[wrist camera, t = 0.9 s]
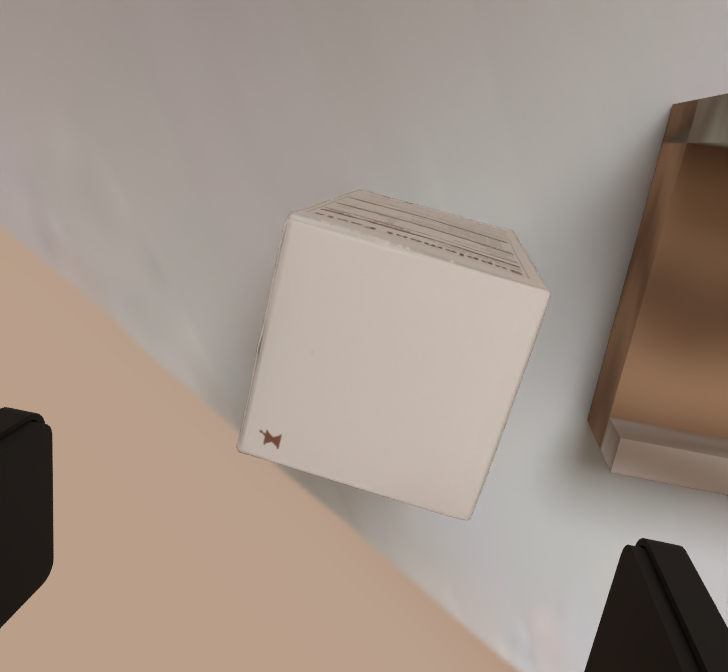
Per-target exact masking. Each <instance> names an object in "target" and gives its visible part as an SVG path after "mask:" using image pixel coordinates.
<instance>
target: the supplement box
mask: <svg viewBox="0 0 728 672" xmlns="http://www.w3.org/2000/svg"><path fill="white" fill-rule="evenodd" d="M550 295H551V292H550V291H549V290H548V288H547V286H546V285H545V283H544V281H543V279H542V278H541V276H540V275H539V273H538V271H537V270H536V268H535V266H534V265H533V263H532V261H531V260H530V258H529V256H528V255H527V253H526V251H525V250H524V248H523V246H522V245H521V243H520V242H519V240H518V238H517V237H516V235H515V233H514V232H513V231H511V230H507V229H502V228H499V227H495V226H491V225H488V224H484V223H480V222H477V221H473V220H469V219H466V218H462V217H459V216H455V215H451V214H448V213H444V212H441V211H437V210H433V209H430V208H426V207H422V206H419V205H415V204H411V203H408V202H404V201H400V200H396V199H393V198H389V197H385V196H382V195H378V194H374V193H370V192H366V191H362V190H358V191H355V192H352V193H348V194H346V195H343V196H340V197H337V198H334V199H332V200H329V201H326V202H324V203H321V204H319V205H316V206H313V207H310V208H307V209H305V210H301V211H296V212H291V213H290V214H289V215H288V216H287V218H286V220H285V223H284V227H283V233H282V237H281V242H280V246H279V250H278V256H277V261H276V266H275V271H274V276H273V280H272V285H271V290H270V294H269V299H268V304H267V308H266V313H265V318H264V323H263V327H262V331H261V334H260V338H259V342H258V346H257V350H256V360H255V366H254V370H253V375H252V380H251V384H250V389H249V394H248V398H247V403H246V407H245V412H244V416H243V421H242V426H241V430H240V435H239V439H238V443H237V450H238V451H239V452H240V453H244V454H247V455H251V456H254V457H258V458H261V459H265V460H268V461H271V462H275V463H278V464H281V465H284V466H287V467H291V468H294V469H297V470H300V471H304V472H307V473H310V474H313V475H317V476H320V477H323V478H326V479H329V480H333V481H336V482H339V483H342V484H346V485H349V486H352V487H356V488H359V489H362V490H365V491H368V492H372V493H375V494H378V495H381V496H385V497H388V498H391V499H394V500H398V501H401V502H404V503H408V504H411V505H414V506H417V507H420V508H424V509H427V510H430V511H433V512H437V513H440V514H443V515H447V516H450V517H454V518H458V519H462V520H469V519H470V518H471V515H472V513H473V511H474V508H475V506H476V503H477V501H478V498H479V496H480V493H481V491H482V488H483V485H484V482H485V480H486V477H487V475H488V472H489V469H490V466H491V463H492V461H493V458H494V455H495V452H496V450H497V447H498V444H499V441H500V439H501V436H502V433H503V430H504V428H505V425H506V422H507V419H508V416H509V414H510V411H511V408H512V405H513V402H514V399H515V397H516V394H517V391H518V388H519V385H520V382H521V380H522V377H523V374H524V371H525V368H526V366H527V363H528V360H529V357H530V354H531V352H532V349H533V346H534V343H535V340H536V337H537V335H538V332H539V329H540V326H541V323H542V320H543V317H544V314H545V311H546V308H547V305H548V302H549V299H550Z"/></svg>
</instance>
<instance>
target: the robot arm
mask: <svg viewBox="0 0 728 672" xmlns="http://www.w3.org/2000/svg"><path fill="white" fill-rule="evenodd" d="M52 463H53V462H52V431H51V428H50V426H48V425H47V424H45V421H44V419H43V417H42V416H41V415H40V414H37V413H32V412H28V411H23V410H18V409H13V408H7V407H4V408H1V409H0V628H1V627H2V626H3V625H4V624H5V623H6V622H7V621H8V620H9V619H10V618H11V617H12V615H13V614H14V613H15V612H16V611H17V610H18V609H19V608H20V607H21V606H22V605H23V604H24V603H25V602H26V601H27V600H28V599H29V598H30V597H31V596H32V595H33V594H34V593H35V592H36V590H38V589H39V588H40V586H41V585H42V584H43V583H44V582H45V581H46V579H47V577H48V576H49V574H50V571H51V569H52V565H53V467H52V466H53V464H52ZM584 672H728V627H727V626H726V624H725V622H724V620H723V618H722V616H721V615H720V613H719V611H718V609H717V607H716V605H715V604H714V602H713V600H712V598H711V596H710V594H709V593H708V591H707V589H706V587H705V585H704V583H703V582H702V580H701V578H700V576H699V574H698V572H697V571H696V569H695V567H694V565H693V563H692V561H691V560H690V558H689V556H688V554H687V552H686V551H685V549H684V548H683V547H682V546H679V545H674V544H669V543H664V542H660V541H655V540H650V539H645V538H642V539H640V540H639V541H638V542H637V543H636V546H631V545H626V546H625V547H624V549H623V551H622V553H621V556H620V559H619V563H618V566H617V569H616V572H615V575H614V579H613V582H612V585H611V588H610V591H609V595H608V598H607V601H606V604H605V607H604V611H603V614H602V617H601V620H600V623H599V627H598V630H597V633H596V636H595V639H594V643H593V646H592V649H591V652H590V655H589V659H588V662H587V665H586V668H585V671H584Z"/></svg>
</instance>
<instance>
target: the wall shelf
mask: <svg viewBox="0 0 728 672" xmlns="http://www.w3.org/2000/svg"><path fill="white" fill-rule="evenodd" d="M588 423H589V425H590V427H591V429H592V432H593V434H594V436H595V438H596V441H597V443H598V445H599V447H600V450H601V452H602V454H603V456H604V459H605V461H606V463H607V465H608V468H609V470H610V472H612V473H617V474H622V475H627V476H632V477H637V478H643V479H648V480H653V481H658V482H663V483H668V484H673V485H679V486H684V487H689V488H694V489H699V490H704V491H709V492H714V493H720V494H725V495H728V94H723V95H718V96H713V97H708V98H703V99H698V100H693V101H688V102H683V103H678V104H673V107H672V110H671V114H670V118H669V122H668V125H667V129H666V133H665V136H664V140H663V144H662V147H661V151H660V155H659V158H658V162H657V166H656V169H655V173H654V177H653V180H652V184H651V188H650V192H649V195H648V199H647V203H646V206H645V210H644V214H643V217H642V221H641V225H640V228H639V232H638V236H637V239H636V243H635V247H634V250H633V254H632V258H631V262H630V265H629V269H628V273H627V276H626V280H625V284H624V287H623V291H622V295H621V298H620V302H619V306H618V309H617V313H616V317H615V320H614V324H613V328H612V332H611V335H610V339H609V343H608V346H607V350H606V354H605V357H604V361H603V365H602V368H601V372H600V376H599V379H598V383H597V387H596V390H595V394H594V398H593V402H592V405H591V409H590V413H589V416H588Z"/></svg>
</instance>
